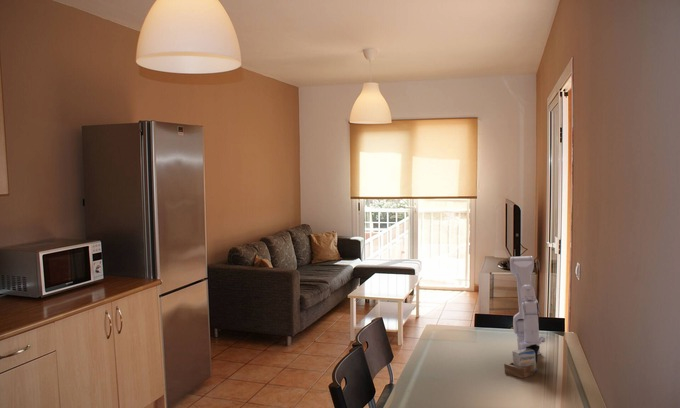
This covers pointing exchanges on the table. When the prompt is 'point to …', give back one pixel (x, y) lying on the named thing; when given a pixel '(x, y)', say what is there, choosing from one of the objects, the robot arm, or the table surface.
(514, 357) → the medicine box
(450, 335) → the table surface
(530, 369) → the open wooden box
